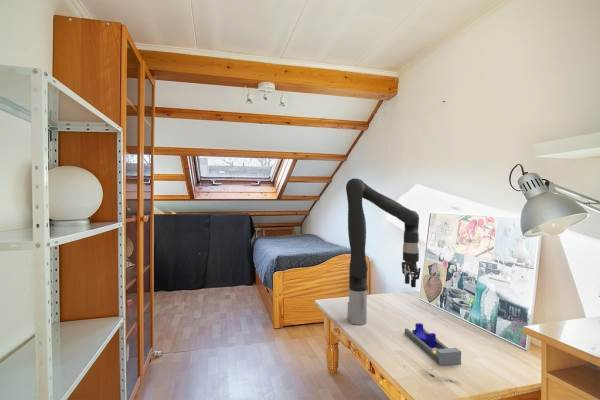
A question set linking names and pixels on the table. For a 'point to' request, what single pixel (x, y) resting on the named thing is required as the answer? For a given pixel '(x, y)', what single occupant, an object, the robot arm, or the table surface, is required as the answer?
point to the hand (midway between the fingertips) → (410, 285)
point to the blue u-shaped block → (430, 338)
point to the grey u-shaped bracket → (437, 350)
